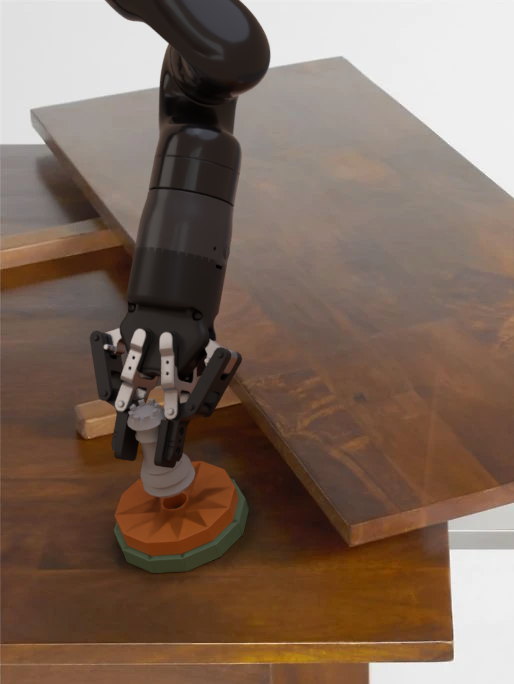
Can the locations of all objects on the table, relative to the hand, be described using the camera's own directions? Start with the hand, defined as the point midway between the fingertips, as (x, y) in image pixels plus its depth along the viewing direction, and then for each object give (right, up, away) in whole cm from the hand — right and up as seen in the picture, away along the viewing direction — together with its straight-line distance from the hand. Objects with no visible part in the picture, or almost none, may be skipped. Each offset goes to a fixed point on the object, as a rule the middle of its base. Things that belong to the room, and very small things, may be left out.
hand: (144, 462), depth 112 cm
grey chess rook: (+1, -2, +4) cm, 5 cm away
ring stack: (+2, -6, +7) cm, 9 cm away
